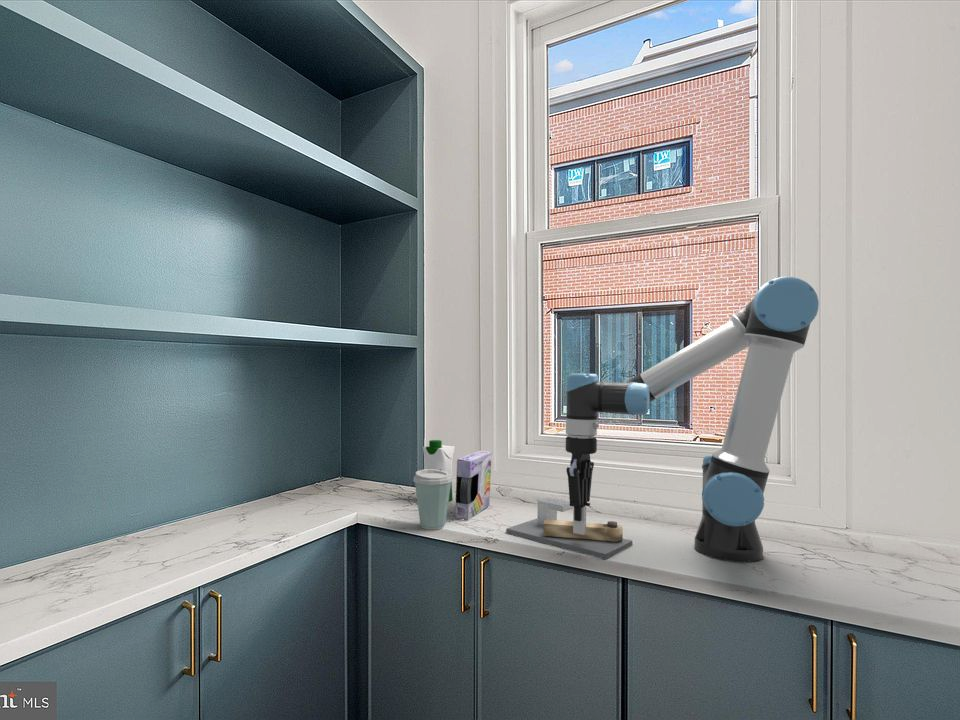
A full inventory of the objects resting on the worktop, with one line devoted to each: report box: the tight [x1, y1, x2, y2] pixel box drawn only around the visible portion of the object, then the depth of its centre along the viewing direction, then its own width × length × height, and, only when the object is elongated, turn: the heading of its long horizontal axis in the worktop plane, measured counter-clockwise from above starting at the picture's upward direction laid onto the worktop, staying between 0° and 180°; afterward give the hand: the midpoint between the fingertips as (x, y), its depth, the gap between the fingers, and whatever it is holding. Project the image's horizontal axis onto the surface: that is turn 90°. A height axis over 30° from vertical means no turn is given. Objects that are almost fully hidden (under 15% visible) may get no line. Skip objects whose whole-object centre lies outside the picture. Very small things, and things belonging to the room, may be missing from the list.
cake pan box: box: [454, 450, 493, 521], centre depth 162 cm, size 19×5×18 cm, turn 159°
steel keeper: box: [536, 497, 574, 527], centre depth 145 cm, size 8×5×8 cm, turn 49°
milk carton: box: [422, 439, 456, 503], centre depth 176 cm, size 9×9×20 cm
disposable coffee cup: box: [412, 469, 453, 531], centre depth 146 cm, size 11×11×15 cm
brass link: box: [543, 519, 624, 542], centre depth 135 cm, size 20×5×4 cm, turn 79°
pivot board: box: [505, 518, 634, 560], centre depth 137 cm, size 29×14×1 cm, turn 49°
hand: (579, 533), depth 130 cm, fingers closed
